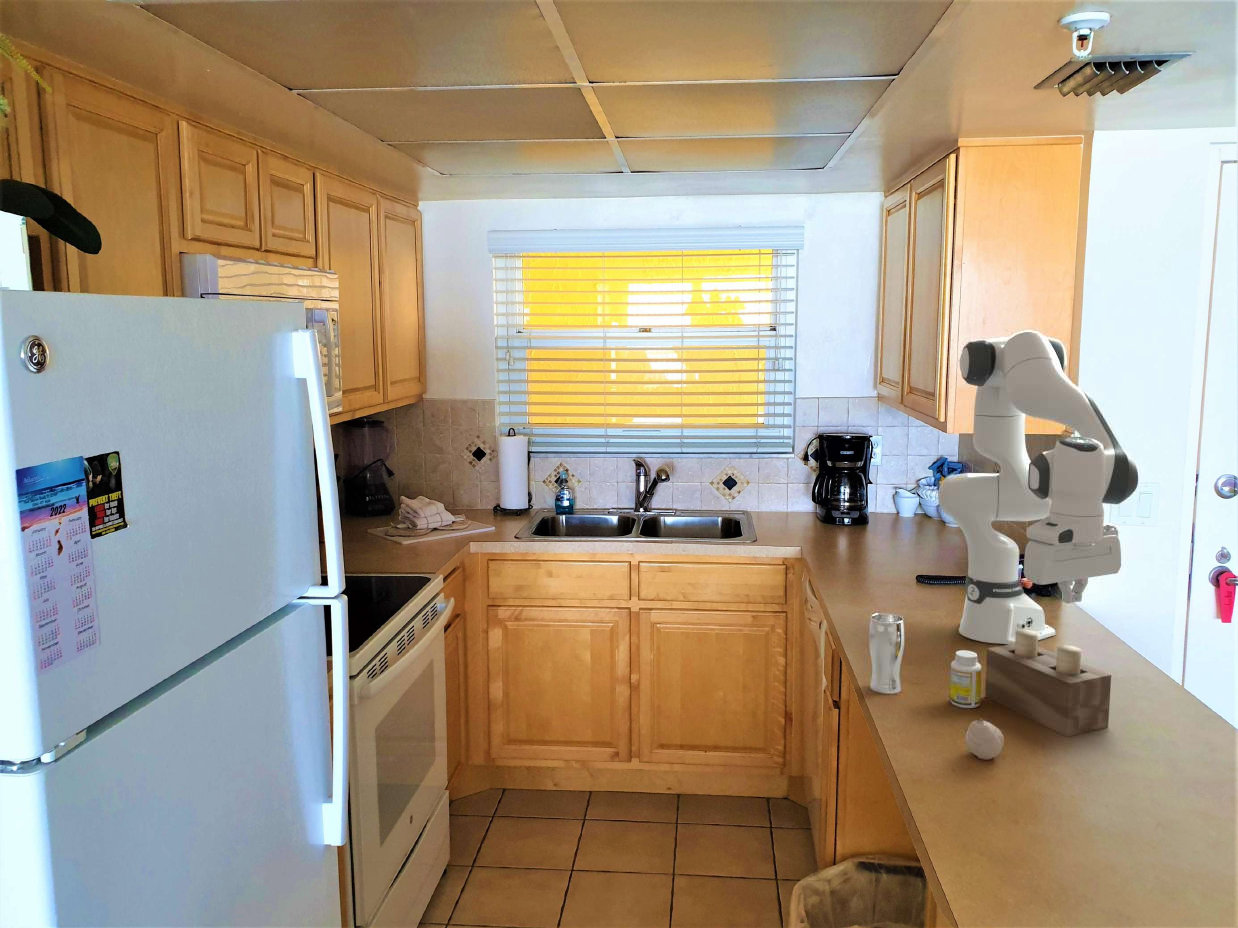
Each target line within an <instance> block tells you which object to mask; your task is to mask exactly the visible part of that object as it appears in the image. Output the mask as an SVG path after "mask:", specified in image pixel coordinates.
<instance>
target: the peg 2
mask: <svg viewBox="0 0 1238 928" xmlns="http://www.w3.org/2000/svg"><path fill="white" fill-rule="evenodd" d="M1056 648H1057V649H1056V654H1057V662H1056V671H1058V672H1060V673H1062V674H1065V675H1067V676H1072V675H1077V674H1080V666H1081V663H1082V649H1081V648H1079V647H1077V646H1073V645H1066V644H1064V645H1059V646H1057V647H1056Z"/></svg>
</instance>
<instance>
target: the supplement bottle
mask: <svg viewBox="0 0 1238 928" xmlns="http://www.w3.org/2000/svg"><path fill="white" fill-rule="evenodd" d="M981 686H982V665H981V664H980V663H979V662H978V654H977V653H976V652H974V651H972V650H964V649H963V650H957V651H956V652H955V656H954V660H953V661H952V662H951V663H950V687H949V688H950V689H949V690H950V691H949V698H950V699H949V700H950V702H951V704H952V705H954V706H956V707H958V708H962V709H974V708H978V707H979V706H980V705H981V694H982V693H981V689H982V687H981Z"/></svg>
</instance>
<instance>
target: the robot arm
mask: <svg viewBox="0 0 1238 928" xmlns="http://www.w3.org/2000/svg"><path fill="white" fill-rule="evenodd" d="M1067 361H1068V360H1067V351H1066V348H1065V345H1063V342H1061V341H1060V340H1059V339H1056V338H1052V337H1046V336H1045V335H1043V334H1042V333H1040V332H1039V331H1035V330H1034V331H1033V330H1024V331H1019V332H1016V333H1015V334H1013V335H1011V336H1009V337H998V338H988V339H985V338H979V339H975V340H974V339H973V340H971V341H969V342H967V344H965V345H964V346H963V348H962V352H961V354H960V357H959V370H960V373H961V378H962V379H963V381H964V382H966V384H968V385H970V386H976V387H977V388H976V394H975V398H974V407H973V431H972V432H973V433H972V435H973V436H972V443H973V448H974V449H975V450H976V451H977V453H979V455H981V456H983V457H985V458H987V459H989V460H991V461H993V462H995V463H997V464H998V465H999V466H1000V472H997V473H988V472H987V473H986V472H985V473H984V472H983V473H980V472H977V473H976V472H963V473H958V474H952V475H948V476H946V477H945V478H944V479H943V480H942V482H941V483H940V486H939V487H938V491H937V499H938V504H939V506H940V508H941V510H942V511H943V513H945V514H946V516H947V517H949V518H950V519H952V520H953V521H954V522H955V523H956V524H957V525H958V527H959V529H961V531H962V533H963V535H964V538H965V541H966V545H967V546H966V547H967V556H968V557H967V558H968V559H967V560H968V561H967V563H968V568H967V569H968V570H967V572H968V573H967V574H966V577H965V591H966V595H965V601H964V606H963V612H962V618H961V620H960V625H959V628H958V633H959V634H960V635H961V636H963V637H965V638H968V639H971V640H973V641H978V642H982V643H990V644H1002V645H1003V644H1004V645H1010V644H1015V637H1016V631H1018V630H1030V631H1034V632H1036V633H1038V641H1040V640H1043V639H1046V638H1050V637H1052V636H1055V635H1056V630H1055V629H1054V628H1053V627H1051V626H1049V625H1048V624H1046V620H1045V619H1046V618H1045V612H1044V608H1043V607H1042V606H1040V605H1039V604H1038V603H1036V602H1035V600H1034V599H1031V598H1030V597H1029V595H1027V594H1026V593H1024V589H1023V587H1024V588H1027V589H1031V588H1032V586H1033V584H1035V585H1039V586H1040V585H1049V584H1056V583H1057V585H1058V588H1059V590H1060V591H1061V594H1062V595H1061V601H1062V602H1063V603H1065V604H1073V603H1074V604H1075V603H1080V602H1082V599H1083V598H1082V597H1083V593H1084V592H1085V589H1086V587H1087V585H1088V584H1089V583H1088V582H1089V579H1090V578H1095V577H1096V578H1097V577H1102V576H1109V575H1116V574H1118V573H1119V571H1120V570H1121V568H1122V548H1121V541H1120V539H1119V530H1118V529H1117V527H1116V526H1114V525H1113V523H1105V522H1104V519H1105V509H1104V506H1103V504H1109V505H1119V504H1122V503H1123V502H1125V501H1126V500H1127V499H1128V498H1129V497H1131V495H1133V494H1134V492H1136V490H1137V488H1138V485H1139V472H1138V468H1137V466H1136V462H1135V461H1134V460H1133V458H1132V457H1131V456H1130V455H1129V454H1128V452H1126V450H1125V449H1124V448H1123V447H1122V445H1121V444H1120V443H1119V441H1118V439H1117V437H1116V436H1115V434H1114V433H1113V431H1112V428H1111V427H1110V425H1109V424H1108V422H1107V420H1106V419H1105V417H1104V415H1103V413H1102V412H1101V410H1100V409H1099V407H1098V405H1097V403H1096V402H1095V400H1094V399H1093V397H1092V396H1091V394H1089V393H1088V392H1086V391H1085V390H1082V389H1081V388H1080V387H1078V386H1076V385H1075V384H1074V383H1073V382H1072V381H1071V380H1070V379H1069V378H1068V376H1067V375H1066V374H1065V372H1066V366H1067ZM1026 416H1029V417H1031V418H1034V419H1041V420H1044V421H1050V422H1054V423H1058V424H1061V425H1064V426H1066V427H1069V428H1071V429H1072V430H1074V431H1076V432H1077V434H1078V435H1079V436H1068V437H1063V438H1060V439H1059V440H1057V441H1056V443H1055V447H1054V448H1053V449H1051V450H1047V451H1044V452H1040V453H1039V454H1036V455H1035V457H1034V458H1033V459H1032V460H1031V459H1030V457H1029V454H1028V452H1027V447H1026V429H1025V428H1026ZM994 521H995V522H996V521H1007V522H1008V521H1011V522H1012V521H1013V522H1029V521H1030V522H1031V521H1038V522H1035V523H1033V524H1031V525H1030V526H1028V527H1027V529H1026V537H1027V538H1028V539H1030V540H1029V541H1028V543H1027V544H1026V546H1025V549H1024V550H1025V551H1024V558H1023V559H1024V560H1023V574H1024V575H1023V576H1024V577H1025V578H1021V579H1020V578H1019V563H1020V562H1019V561H1020V549H1019V546H1018V544H1017V543H1016V542H1015V541H1014V540H1013V539H1011V538H1010V537H1008V536H1006V535H1005V534H1003V533H1001V532H999V531H997V530H995V529H994V527H993V526H992V522H994ZM1104 523H1105V524H1104ZM1073 582H1074V584H1073ZM1071 586H1072V587H1071Z"/></svg>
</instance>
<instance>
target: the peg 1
mask: <svg viewBox="0 0 1238 928" xmlns="http://www.w3.org/2000/svg"><path fill="white" fill-rule="evenodd" d="M1038 642H1039V640H1038V633H1036V632H1034V631H1030V630H1018V631H1016V637H1015V654H1016V655H1018V656H1021V657H1023V658H1026V659H1027V658H1032V657H1037V649H1038V647H1039V646H1038Z"/></svg>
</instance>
